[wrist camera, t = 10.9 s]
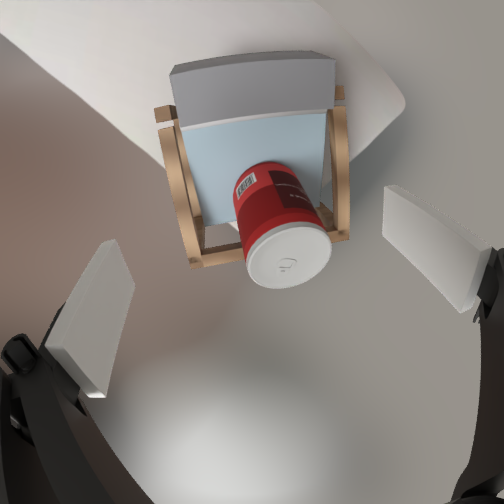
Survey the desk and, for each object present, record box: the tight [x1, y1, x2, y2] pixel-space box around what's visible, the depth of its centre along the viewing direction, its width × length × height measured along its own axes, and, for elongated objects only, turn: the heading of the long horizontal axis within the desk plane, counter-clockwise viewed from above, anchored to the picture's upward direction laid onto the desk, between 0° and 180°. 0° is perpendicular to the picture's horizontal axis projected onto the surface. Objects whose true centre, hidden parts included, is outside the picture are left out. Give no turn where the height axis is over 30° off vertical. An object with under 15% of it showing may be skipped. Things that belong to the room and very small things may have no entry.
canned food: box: [233, 162, 332, 289], centre depth 28 cm, size 8×8×11 cm
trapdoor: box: [169, 51, 336, 227], centre depth 28 cm, size 19×15×6 cm
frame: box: [154, 86, 350, 269], centre depth 34 cm, size 18×19×14 cm
